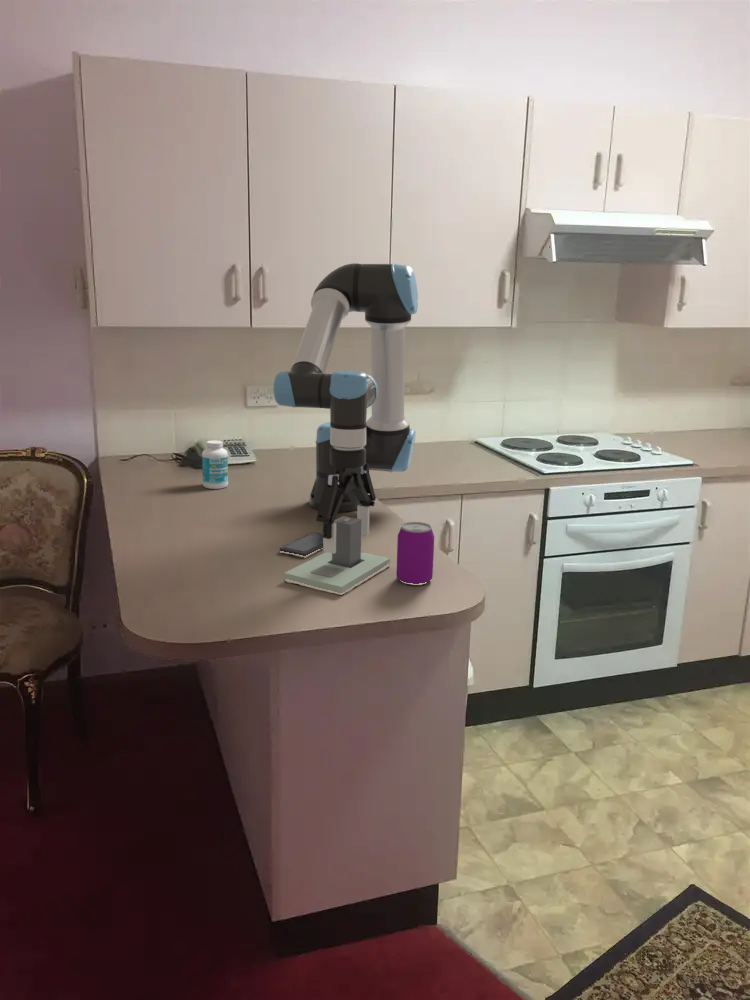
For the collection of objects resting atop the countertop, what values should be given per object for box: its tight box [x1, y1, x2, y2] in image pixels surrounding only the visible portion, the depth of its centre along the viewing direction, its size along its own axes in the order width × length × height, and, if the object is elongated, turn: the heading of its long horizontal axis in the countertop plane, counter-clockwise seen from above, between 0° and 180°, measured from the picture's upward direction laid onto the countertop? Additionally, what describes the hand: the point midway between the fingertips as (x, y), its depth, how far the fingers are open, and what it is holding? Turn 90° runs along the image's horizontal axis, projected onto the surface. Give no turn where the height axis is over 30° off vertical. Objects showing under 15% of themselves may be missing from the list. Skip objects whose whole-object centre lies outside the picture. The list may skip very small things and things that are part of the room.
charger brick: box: [332, 515, 362, 568], centre depth 175 cm, size 4×4×11 cm
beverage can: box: [395, 521, 435, 584], centre depth 170 cm, size 8×8×12 cm
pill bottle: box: [201, 440, 229, 490], centre depth 239 cm, size 8×7×14 cm
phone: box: [279, 532, 323, 556], centre depth 190 cm, size 14×7×1 cm, turn 150°
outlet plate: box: [283, 551, 391, 593], centre depth 174 cm, size 20×14×2 cm
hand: (346, 543), depth 175 cm, fingers open, 13 cm apart
